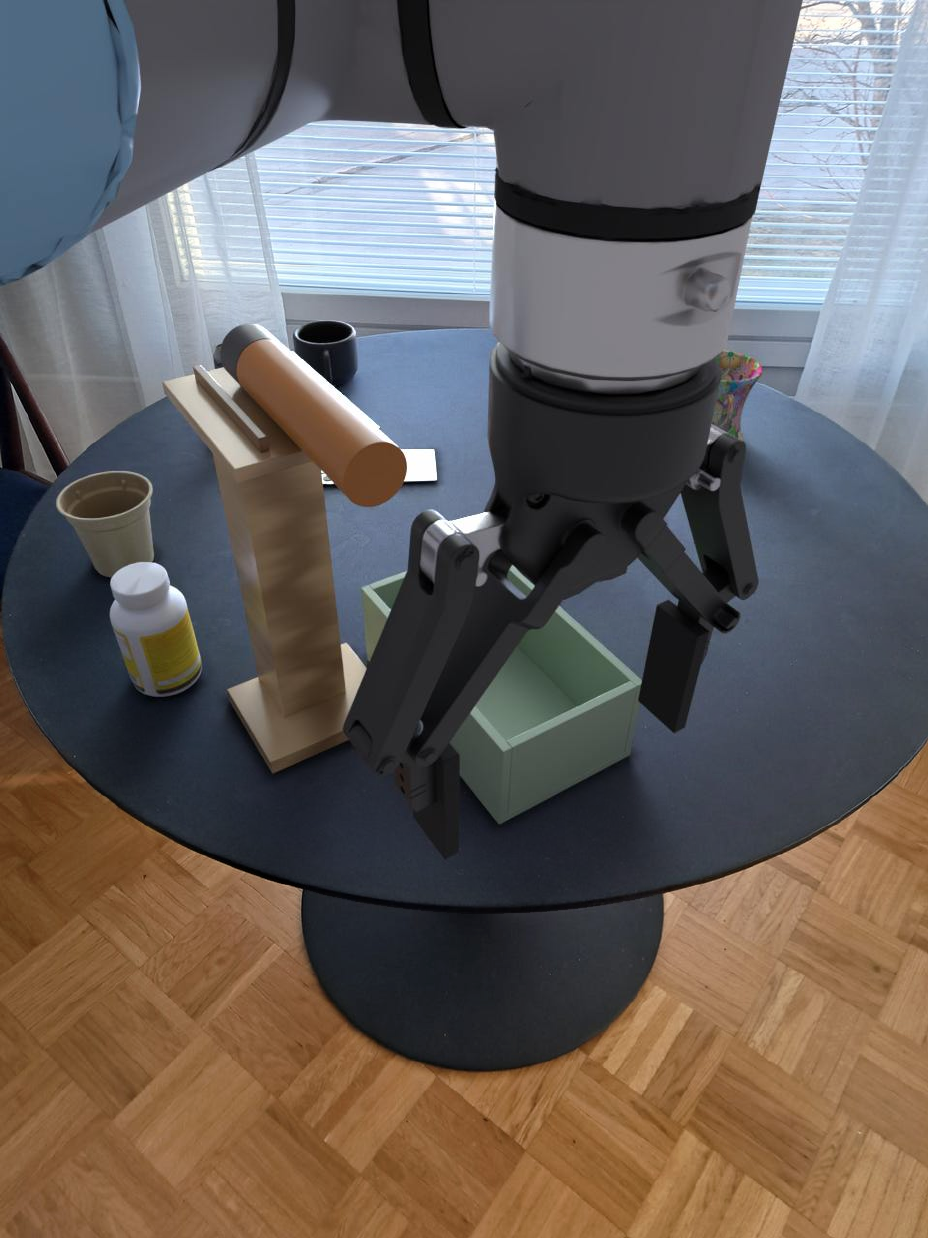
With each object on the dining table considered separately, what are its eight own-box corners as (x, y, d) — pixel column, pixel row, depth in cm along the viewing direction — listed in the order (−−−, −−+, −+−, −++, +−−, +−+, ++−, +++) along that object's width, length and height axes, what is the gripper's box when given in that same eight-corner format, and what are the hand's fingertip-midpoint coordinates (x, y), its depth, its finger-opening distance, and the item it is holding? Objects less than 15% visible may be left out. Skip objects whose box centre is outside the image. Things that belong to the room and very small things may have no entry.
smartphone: (437, 480, 107) (306, 482, 106) (437, 484, 108) (306, 486, 107) (434, 449, 113) (309, 450, 112) (434, 452, 113) (310, 454, 112)
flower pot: (81, 543, 97) (59, 476, 92) (168, 531, 99) (152, 465, 94) (76, 594, 90) (51, 525, 85) (170, 580, 92) (152, 512, 87)
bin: (499, 825, 69) (503, 752, 63) (366, 659, 84) (360, 587, 78) (630, 755, 75) (644, 682, 69) (485, 611, 89) (487, 540, 83)
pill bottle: (218, 667, 82) (194, 570, 75) (168, 710, 78) (138, 611, 71) (167, 643, 85) (140, 546, 77) (116, 683, 81) (82, 585, 73)
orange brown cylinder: (338, 509, 48) (350, 442, 46) (217, 378, 60) (222, 321, 58) (400, 505, 50) (414, 441, 48) (271, 380, 63) (278, 325, 60)
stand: (282, 790, 72) (215, 459, 51) (221, 687, 80) (144, 370, 60) (409, 732, 76) (394, 409, 56) (338, 641, 85) (303, 334, 65)
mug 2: (669, 422, 120) (682, 348, 113) (737, 424, 120) (754, 350, 113) (681, 467, 111) (696, 390, 104) (754, 470, 111) (775, 392, 104)
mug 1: (297, 367, 132) (292, 321, 128) (357, 363, 133) (353, 317, 129) (298, 403, 123) (292, 355, 119) (362, 399, 124) (359, 351, 120)
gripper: (301, 516, 20) (363, 967, 34) (945, 304, 31) (793, 715, 45) (190, 393, 25) (284, 833, 39) (781, 245, 36) (689, 633, 49)
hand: (555, 770), depth 42 cm, fingers open, 13 cm apart
